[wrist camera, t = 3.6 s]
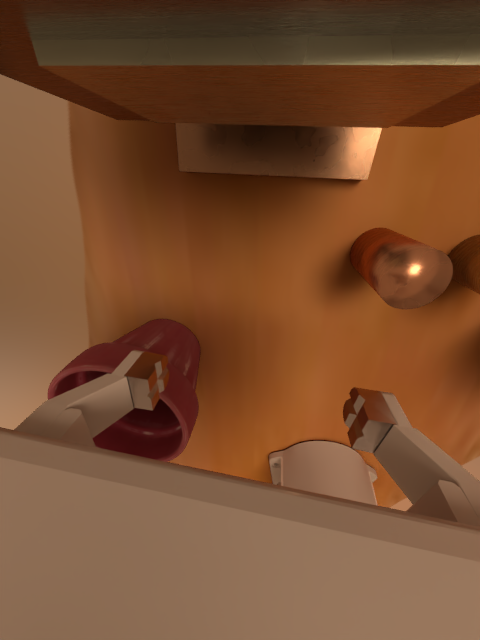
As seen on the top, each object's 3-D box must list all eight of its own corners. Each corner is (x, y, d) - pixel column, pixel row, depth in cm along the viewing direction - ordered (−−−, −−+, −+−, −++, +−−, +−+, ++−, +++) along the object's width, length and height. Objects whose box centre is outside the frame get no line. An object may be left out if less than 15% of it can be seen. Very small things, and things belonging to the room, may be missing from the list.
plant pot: (133, 281, 29) (43, 341, 18) (234, 330, 30) (210, 414, 19) (115, 357, 36) (44, 433, 25) (197, 394, 38) (164, 480, 27)
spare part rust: (389, 275, 24) (433, 312, 17) (344, 271, 24) (370, 305, 18) (407, 229, 22) (466, 250, 15) (357, 226, 22) (393, 245, 15)
